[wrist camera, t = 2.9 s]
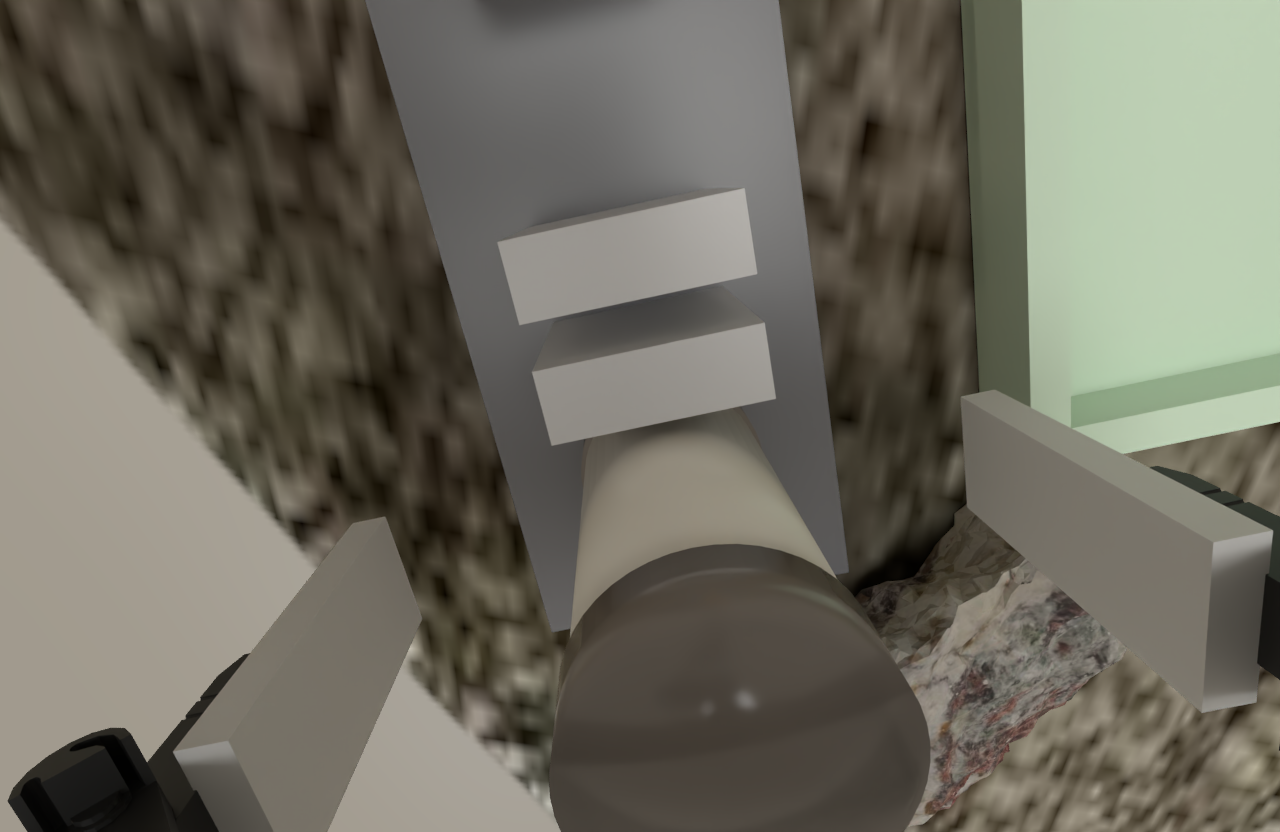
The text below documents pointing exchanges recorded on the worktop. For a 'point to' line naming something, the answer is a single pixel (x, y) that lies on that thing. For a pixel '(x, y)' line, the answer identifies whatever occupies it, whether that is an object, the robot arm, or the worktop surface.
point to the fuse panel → (617, 236)
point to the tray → (1127, 212)
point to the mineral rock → (983, 651)
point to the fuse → (720, 655)
